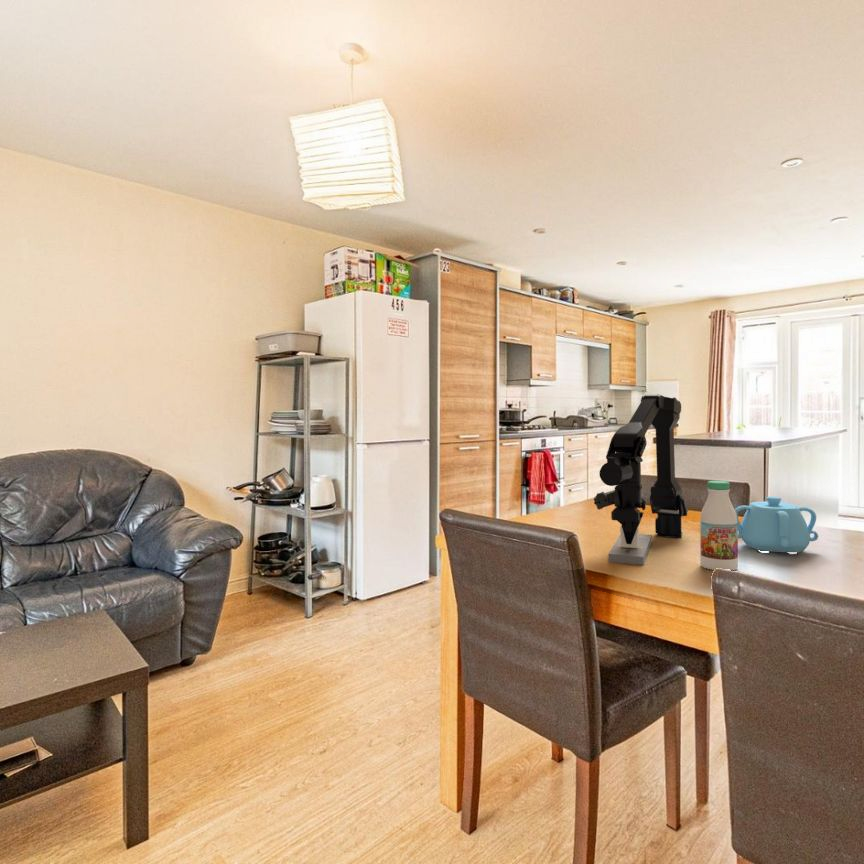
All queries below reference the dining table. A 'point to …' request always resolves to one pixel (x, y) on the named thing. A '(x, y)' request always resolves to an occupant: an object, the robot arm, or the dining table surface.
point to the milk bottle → (718, 529)
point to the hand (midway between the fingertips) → (629, 542)
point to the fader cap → (634, 542)
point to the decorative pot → (776, 526)
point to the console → (631, 551)
